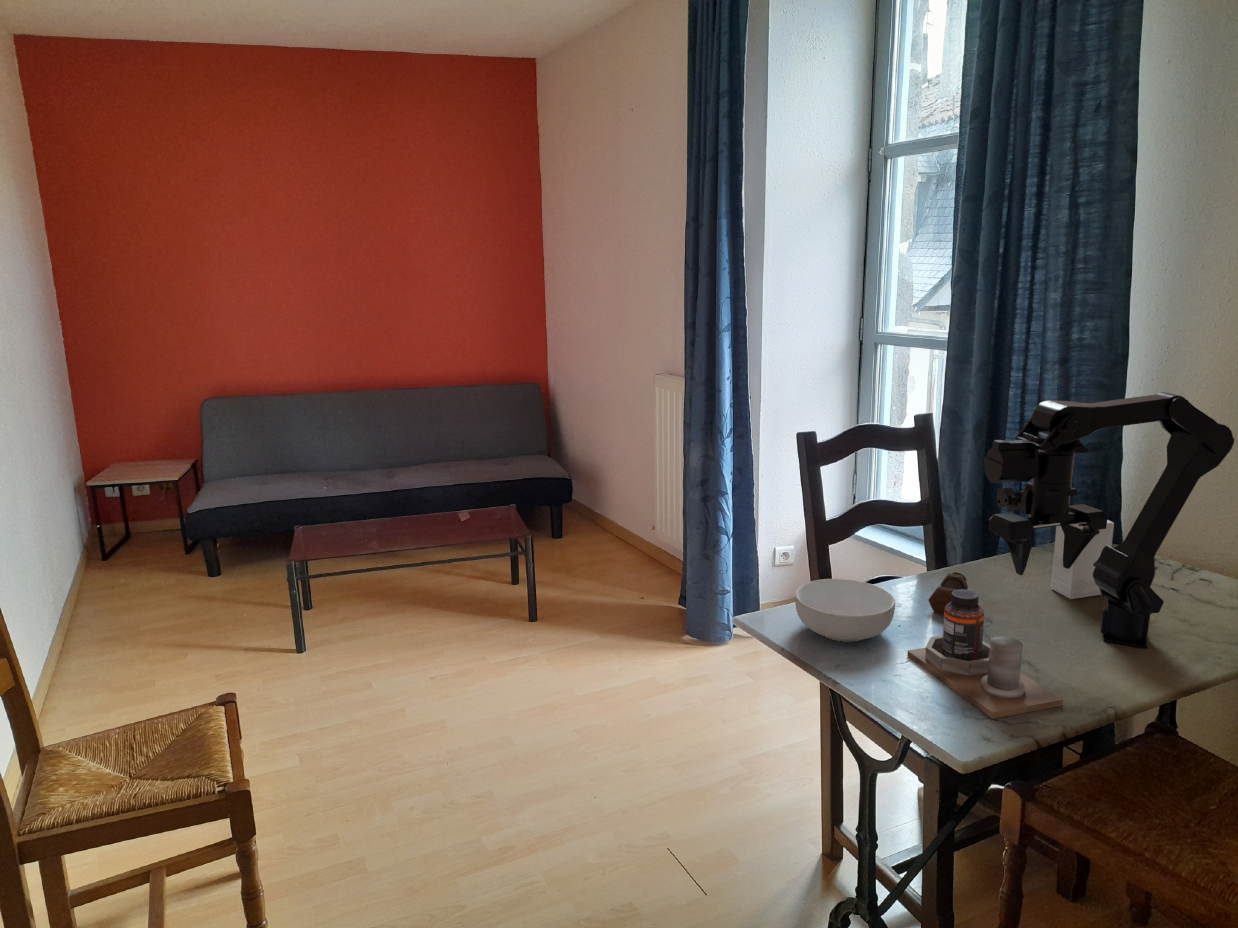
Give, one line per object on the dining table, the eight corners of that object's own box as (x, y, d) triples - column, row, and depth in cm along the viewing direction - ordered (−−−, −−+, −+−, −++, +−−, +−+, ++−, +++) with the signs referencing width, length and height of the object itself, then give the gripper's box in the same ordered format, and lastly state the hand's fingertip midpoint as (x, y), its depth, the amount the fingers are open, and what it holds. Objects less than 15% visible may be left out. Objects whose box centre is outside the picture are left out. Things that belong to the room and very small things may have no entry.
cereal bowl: (832, 661, 143) (834, 621, 142) (775, 624, 158) (776, 587, 157) (914, 642, 150) (916, 603, 148) (852, 607, 165) (854, 572, 163)
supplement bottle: (973, 651, 144) (978, 586, 141) (986, 667, 138) (992, 600, 135) (936, 651, 144) (940, 586, 141) (947, 667, 138) (952, 600, 135)
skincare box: (1085, 584, 173) (1093, 512, 169) (1108, 595, 167) (1116, 521, 164) (1048, 589, 171) (1055, 516, 168) (1070, 600, 165) (1077, 525, 162)
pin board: (907, 655, 145) (910, 608, 143) (969, 645, 148) (973, 599, 146) (992, 718, 125) (996, 664, 123) (1062, 705, 128) (1067, 652, 126)
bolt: (960, 597, 173) (947, 623, 160) (938, 582, 175) (923, 606, 162) (978, 575, 171) (966, 599, 158) (955, 560, 172) (941, 582, 159)
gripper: (1063, 464, 151) (1054, 549, 155) (969, 473, 146) (963, 561, 150) (1114, 479, 141) (1104, 570, 144) (1016, 490, 136) (1007, 584, 140)
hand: (1043, 571), depth 145 cm, fingers open, 9 cm apart
